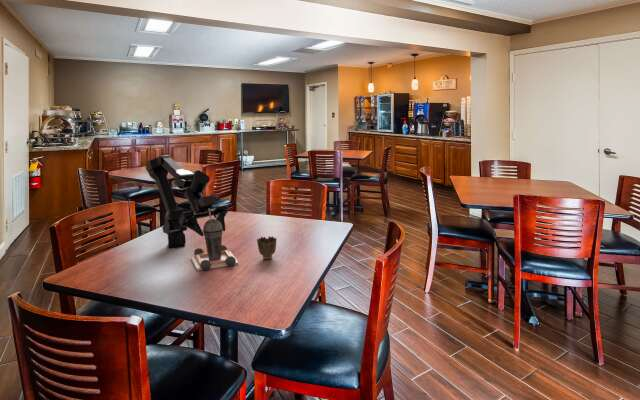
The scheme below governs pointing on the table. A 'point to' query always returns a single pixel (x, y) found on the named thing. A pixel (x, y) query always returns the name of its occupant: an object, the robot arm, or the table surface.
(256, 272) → the table surface
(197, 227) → the robot arm
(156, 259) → the table surface
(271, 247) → the cup
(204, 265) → the chassis
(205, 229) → the beverage cup
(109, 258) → the table surface
